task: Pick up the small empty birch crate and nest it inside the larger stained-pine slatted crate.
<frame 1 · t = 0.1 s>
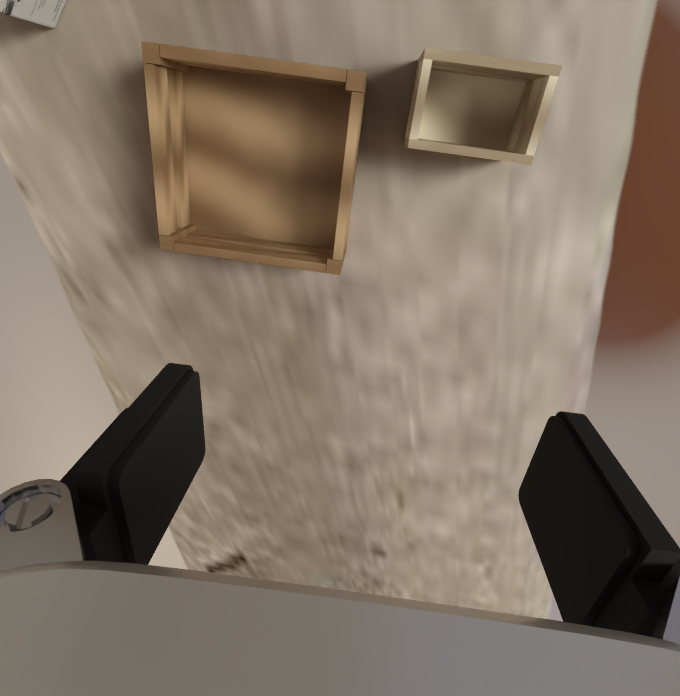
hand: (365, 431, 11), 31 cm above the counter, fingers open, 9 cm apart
small crate: (465, 111, 34), on the counter
crate: (269, 163, 37), on the counter
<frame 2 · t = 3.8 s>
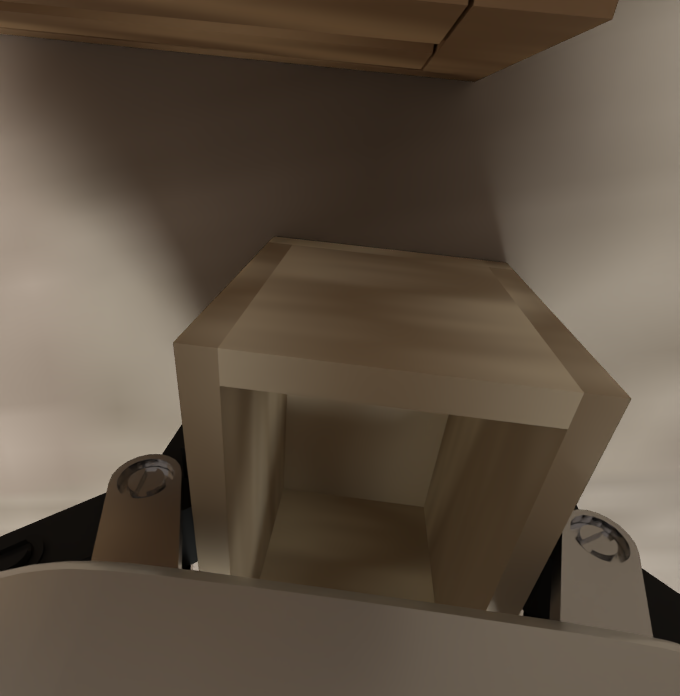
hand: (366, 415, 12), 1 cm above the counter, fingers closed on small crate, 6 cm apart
small crate: (367, 393, 13), on the counter, touching gripper
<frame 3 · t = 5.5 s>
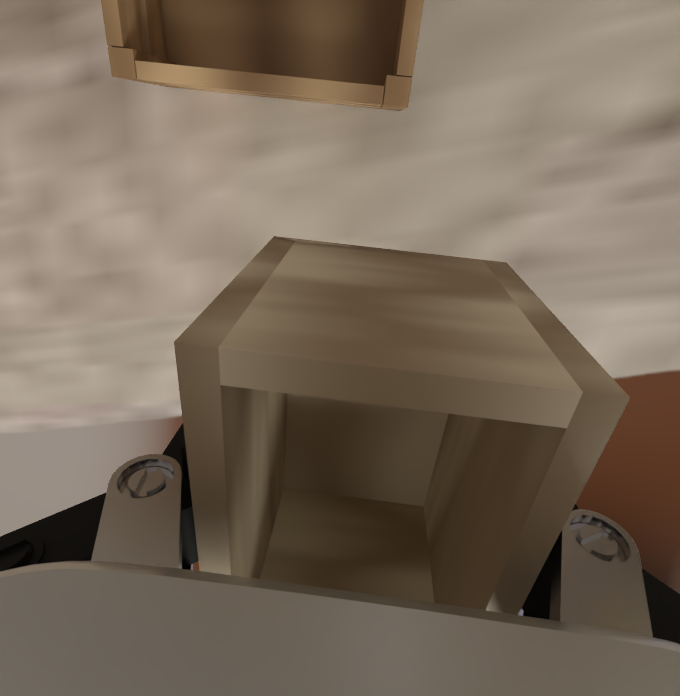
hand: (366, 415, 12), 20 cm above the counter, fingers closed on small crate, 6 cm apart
small crate: (367, 393, 13), point 19 cm above the counter, touching gripper
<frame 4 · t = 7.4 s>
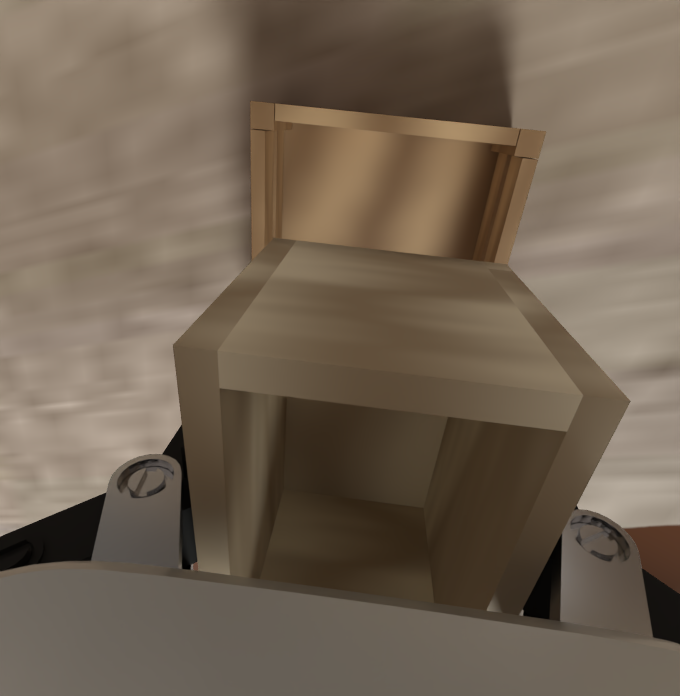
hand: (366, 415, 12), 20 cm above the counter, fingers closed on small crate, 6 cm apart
small crate: (367, 394, 13), point 19 cm above the counter, touching gripper
crate: (376, 243, 29), on the counter
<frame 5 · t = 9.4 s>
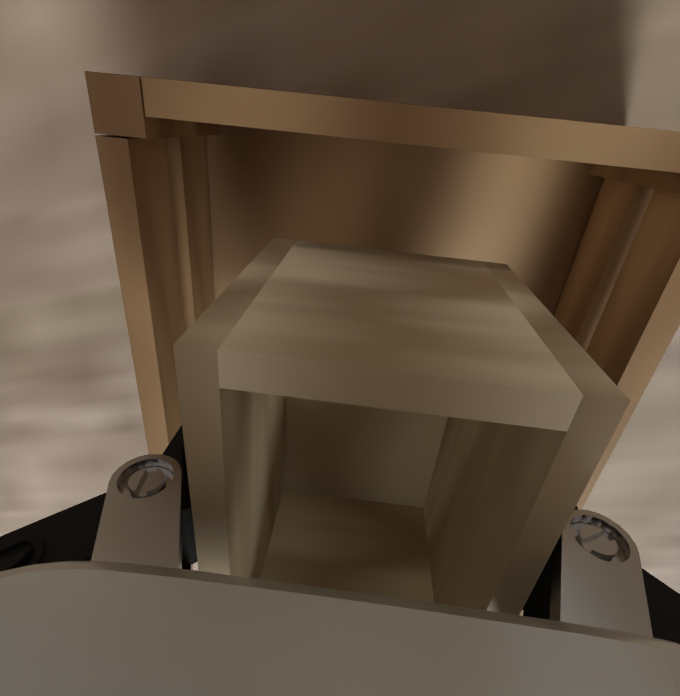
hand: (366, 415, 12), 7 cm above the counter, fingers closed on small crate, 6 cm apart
small crate: (367, 394, 13), point 5 cm above the counter, touching gripper
crate: (375, 321, 18), on the counter
when the fingers open (4 cm above the counter, at t = 11.1 s): small crate drops 1 cm, resting on crate.
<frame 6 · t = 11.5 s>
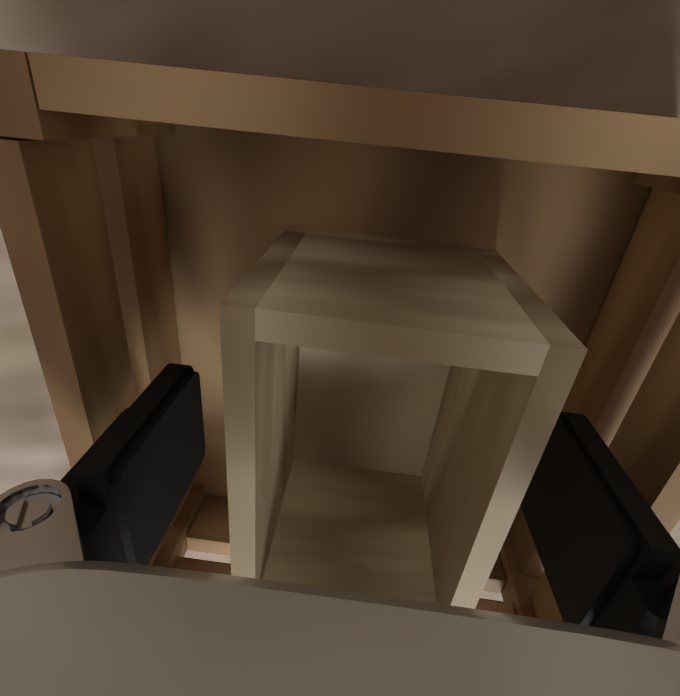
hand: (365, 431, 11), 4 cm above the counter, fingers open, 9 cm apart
small crate: (371, 370, 14), point 1 cm above the counter, touching crate
crate: (369, 354, 15), on the counter
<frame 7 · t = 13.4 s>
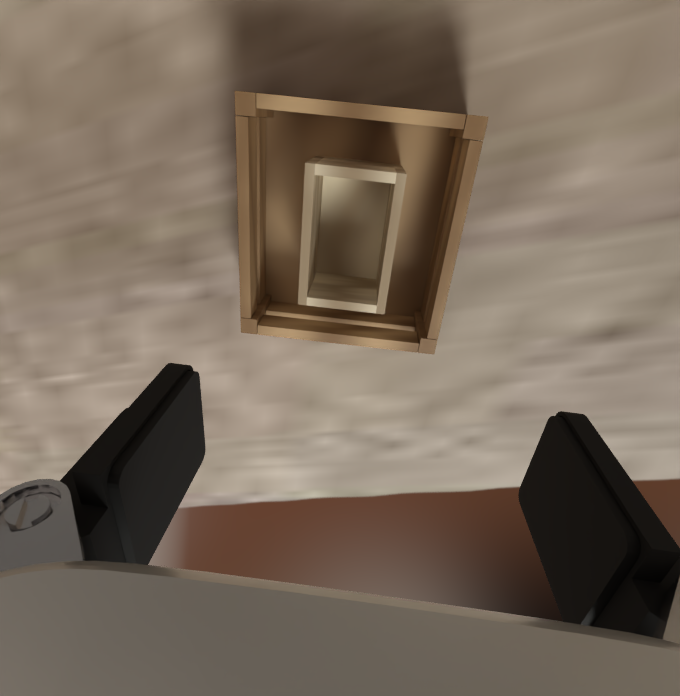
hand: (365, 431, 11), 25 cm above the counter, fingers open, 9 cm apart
small crate: (352, 224, 32), point 1 cm above the counter, touching crate
crate: (351, 220, 33), on the counter
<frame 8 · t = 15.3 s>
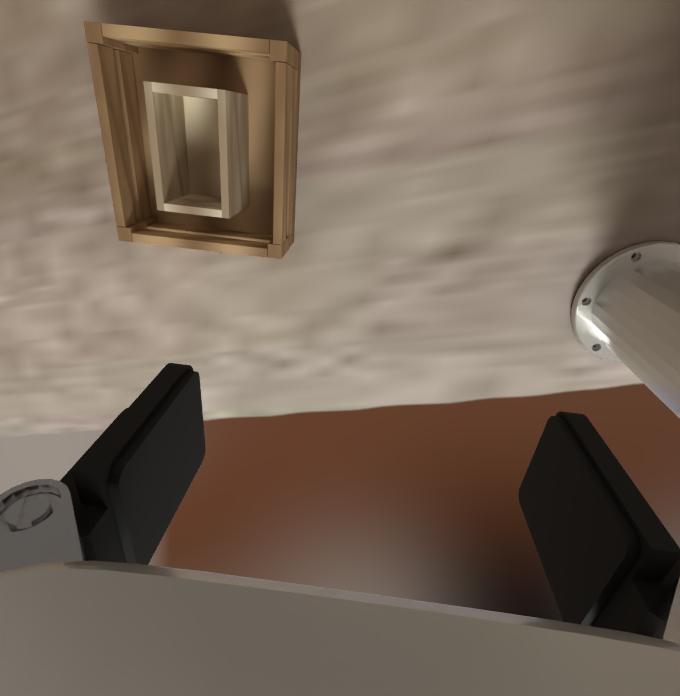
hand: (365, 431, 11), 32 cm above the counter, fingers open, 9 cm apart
small crate: (215, 150, 37), point 1 cm above the counter, touching crate
crate: (218, 148, 38), on the counter
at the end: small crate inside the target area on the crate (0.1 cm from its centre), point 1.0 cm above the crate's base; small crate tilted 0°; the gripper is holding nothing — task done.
